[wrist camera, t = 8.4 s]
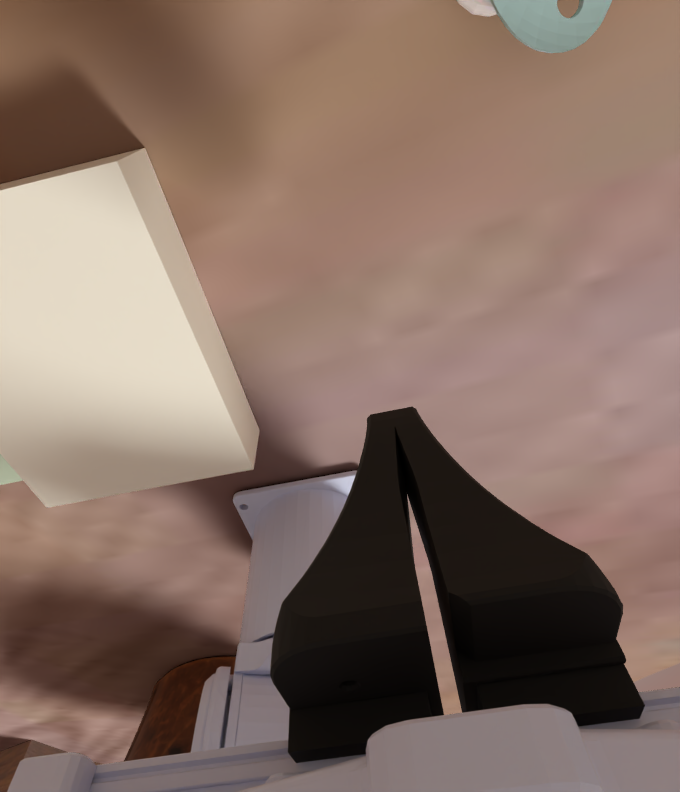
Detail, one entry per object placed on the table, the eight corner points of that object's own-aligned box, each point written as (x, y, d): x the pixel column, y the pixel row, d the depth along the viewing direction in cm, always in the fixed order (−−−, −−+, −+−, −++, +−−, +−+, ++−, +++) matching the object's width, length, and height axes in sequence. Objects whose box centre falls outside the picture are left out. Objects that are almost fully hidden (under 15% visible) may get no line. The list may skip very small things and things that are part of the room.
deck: (259, 430, 25) (253, 469, 23) (71, 466, 26) (46, 508, 24) (144, 147, 17) (116, 161, 15) (-120, 214, 18) (-187, 237, 16)
